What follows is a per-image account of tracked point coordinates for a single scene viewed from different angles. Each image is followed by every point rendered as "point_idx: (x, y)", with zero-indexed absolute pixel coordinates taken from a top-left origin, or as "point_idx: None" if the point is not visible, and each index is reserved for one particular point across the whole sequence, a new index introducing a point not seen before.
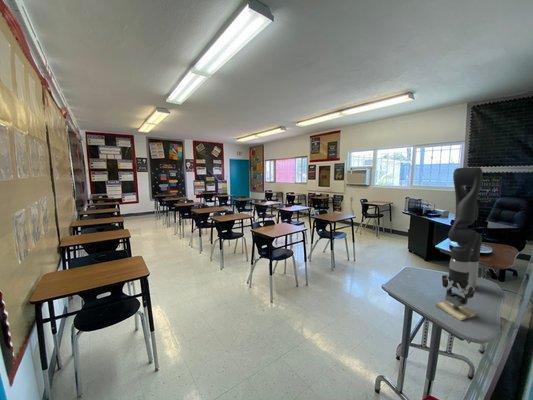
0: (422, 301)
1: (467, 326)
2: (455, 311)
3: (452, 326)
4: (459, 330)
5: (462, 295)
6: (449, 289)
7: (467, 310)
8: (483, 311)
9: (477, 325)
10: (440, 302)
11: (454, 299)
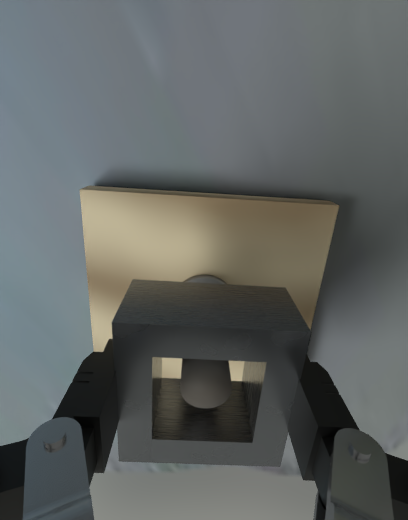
0: (21, 384)
1: (339, 386)
2: None
3: (291, 450)
4: None
5: (320, 513)
6: (90, 475)
7: (272, 242)
8: (336, 39)
9: (375, 325)
10: (92, 328)
11: (229, 456)
